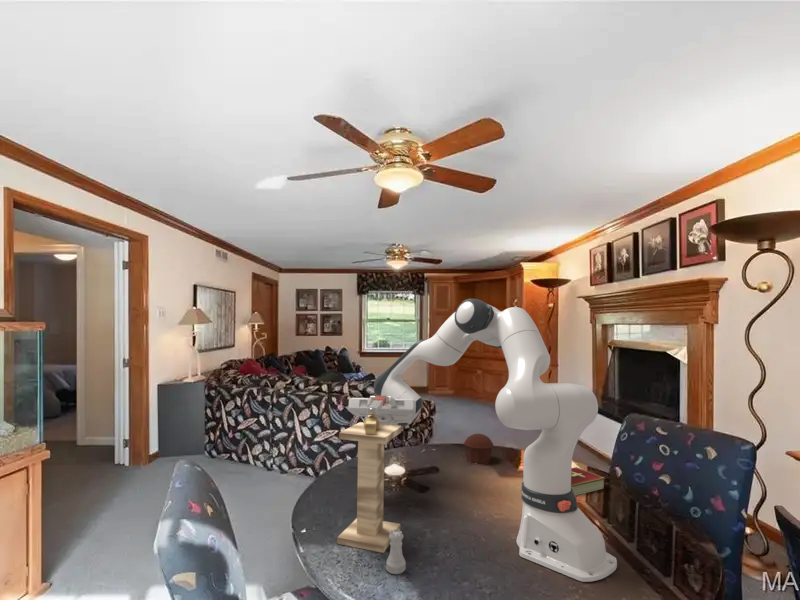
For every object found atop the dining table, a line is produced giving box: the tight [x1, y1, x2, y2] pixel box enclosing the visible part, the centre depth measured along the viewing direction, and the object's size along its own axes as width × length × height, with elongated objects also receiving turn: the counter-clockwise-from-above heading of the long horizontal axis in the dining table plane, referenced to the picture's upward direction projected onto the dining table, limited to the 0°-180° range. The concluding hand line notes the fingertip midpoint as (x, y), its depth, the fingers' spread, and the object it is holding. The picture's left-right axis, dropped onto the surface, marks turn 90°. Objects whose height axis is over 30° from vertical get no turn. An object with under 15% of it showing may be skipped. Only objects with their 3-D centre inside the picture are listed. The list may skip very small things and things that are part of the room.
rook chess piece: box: [385, 529, 407, 575], centre depth 96 cm, size 4×4×8 cm
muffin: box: [463, 433, 494, 465], centre depth 171 cm, size 12×11×10 cm
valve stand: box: [336, 415, 403, 554], centre depth 111 cm, size 12×12×30 cm
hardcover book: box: [571, 467, 606, 497], centre depth 144 cm, size 12×21×4 cm, turn 118°
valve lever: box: [367, 396, 386, 415], centre depth 120 cm, size 19×3×2 cm, turn 174°
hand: (380, 398), depth 126 cm, fingers open, 3 cm apart
